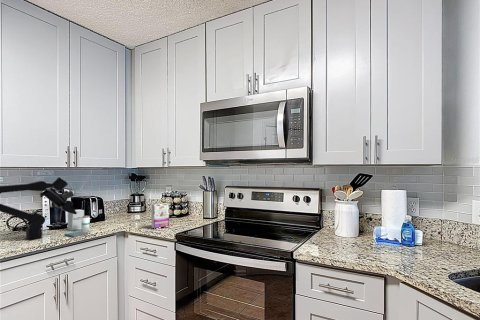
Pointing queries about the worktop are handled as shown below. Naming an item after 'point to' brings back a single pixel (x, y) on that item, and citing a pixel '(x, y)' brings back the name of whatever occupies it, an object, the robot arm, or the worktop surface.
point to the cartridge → (85, 223)
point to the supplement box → (75, 220)
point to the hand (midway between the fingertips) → (74, 212)
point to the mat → (76, 234)
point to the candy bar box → (160, 215)
